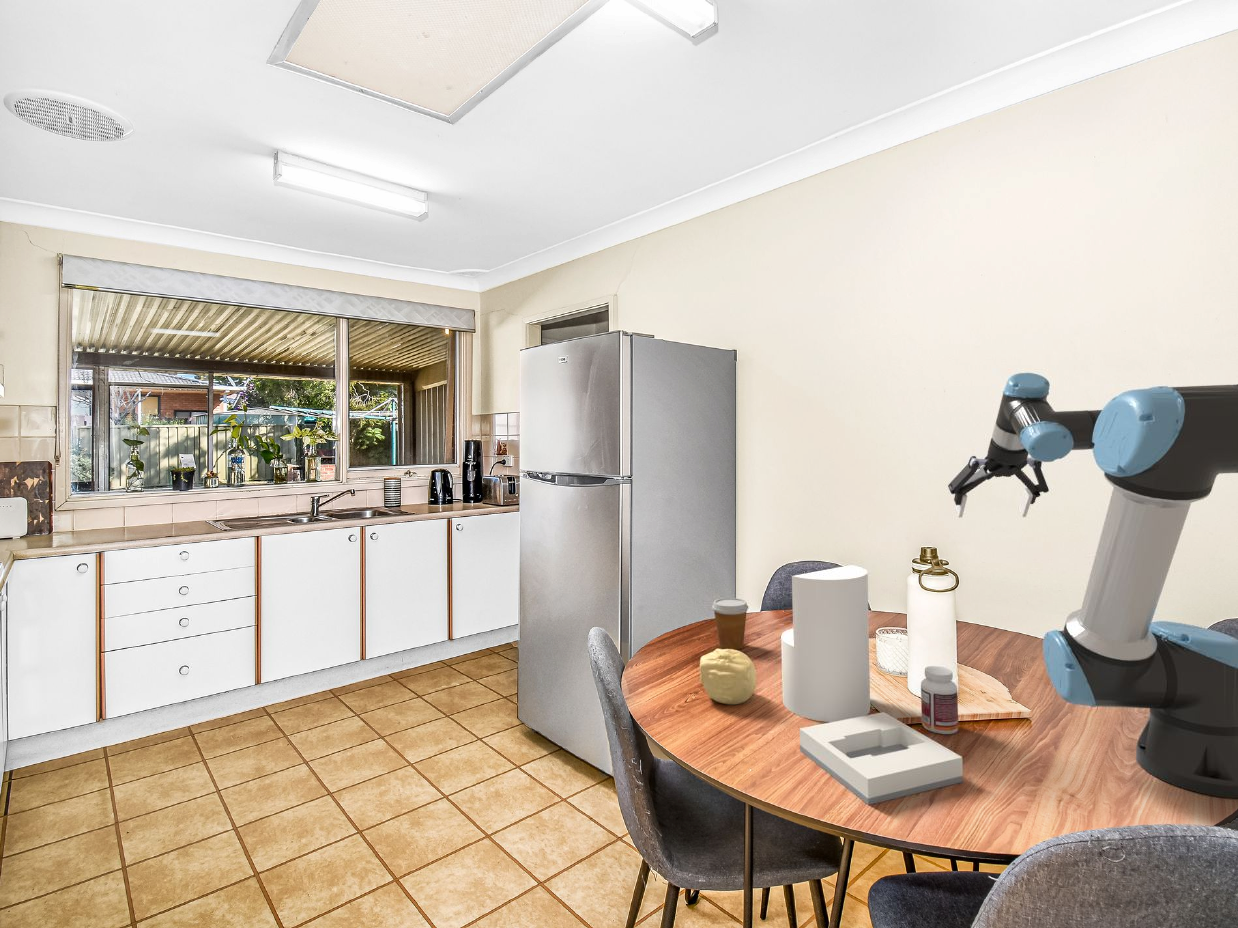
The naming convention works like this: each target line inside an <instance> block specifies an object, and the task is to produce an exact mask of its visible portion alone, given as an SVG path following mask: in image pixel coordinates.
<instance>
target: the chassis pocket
mask: <svg viewBox="0 0 1238 928" xmlns="http://www.w3.org/2000/svg"><path fill="white" fill-rule="evenodd" d="M799 751H800V752H801V753H802V754H804V755H805V756H807V758H809V759H810V760H811V761H813V762H814V763H815V764H816V765H818V766H819V767H820V768H821V769H823V770H824V771H825V772H826V773H828V775H830V776H831V777H832V778H833V779H835V780H836V781H837V782H839V783H840V784H841V785H843V786H844V787H845V788H846V789H848V791H850V792H852V794H854V795H855V796H856V797H858V798H859V800H861V801H862V802H864V803H865V804H866V805H868V806H871V805H874V804H875V805H876V804H879V803H882V802H887V801H891V800H894V799H898V798H901V797H902V798H903V797H906V796H911V795H914V794H920V793H924V792H926V791H930V790H936V789H938V788H942V787H948V786H953V785H957V784H959V783H963V778H964V777H963V774H964V773H963V757H962V755H959V754H958V753H955V752H954V751H952V750H951V749H948V748H947V747H946V746H944V745H942V744H940V743H938V742H937V741H935V740H933V739H931V738H929V737H928V736H926V735H925V734H923V733H921V732H919V731H917V730H916V729H914V728H912V727H910V726H908V725H907V724H905V723H903V722H902V721H900V720H898V719H897V718H894V717H893V716H891V715H890V714H888V713H886V712H884V711H882V712H877V713H873V714H867V715H866V716H861V717H856V718H851V719H846V720H841V721H835V722H825V723H822V724H821V723H820V724H817V725H810V726H805V727H800V728H799Z"/></svg>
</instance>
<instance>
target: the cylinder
mask: <svg viewBox="0 0 1238 928" xmlns="http://www.w3.org/2000/svg"><path fill="white" fill-rule="evenodd" d="M868 572H869V571H868V570H867V569H866V568H863V567H861V566H858V565H854V564H849V565H845V566H839V567H838V566H837V567H833V568H830V569H829V568H828V569H822V570H817V571H813V572H807V573H802V574H801V573H800V574H795V575H792V576H791V595H792V596H791V599H792V600H791V601H792V628H790V629H787V630H786V631H783V632H782V634H781V635H780V636H781V637H780V640H781V642H780V643H781V648H780V649H781V675H782V676H781V677H782V678H781V679H782V682H781V683H782V684H781V685H782V686H781V687H782V688H781V689H782V702H783V706H784V707H785V708H786V710H788V711H790V712H791V713H793V714H795V715H797V716H799V717H802V718H805V719H808V720H813V721H816V722H825V723H830V722H835V721H841V720H846V719H851V718H856V717H861V716H866V715H869V713H870V712H871V686H870V684H871V683H870V682H871V681H870V678H871V677H870V636H869V634H870V633H869V630H870V628H869V627H870V625H869V622H870V621H869V582H868V581H869V580H868V579H869V578H868V577H869V576H868V574H869V573H868Z"/></svg>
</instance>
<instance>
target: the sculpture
mask: <svg viewBox="0 0 1238 928" xmlns="http://www.w3.org/2000/svg"><path fill="white" fill-rule="evenodd" d="M756 670H757V669H756V667H755V665H754V663H753V661H752V660H751V659H750V657H749V656H748V655H746V654H745V653H744V652H742V651H740V650H733V649H722V648H716V649H715V650H713V651H710V652H709V653H707V654H706V653H705V654H704V655H702V656H700V662H699V674H700V678H699V679H700V680H699V681H700V683H701V684H702V686H703V688H704V690H705V691H706V693H707V694H708V696H709V697H710V698H711V699H712V700H714V701H715V702H717V703H720V704H725V705H740V704H743V703H745V702H746V701H748V700H749V699H750V698H751V697H752V696H753V694H754V693H755V690H756V687H757V681H758V680H757V678H758V677H757V671H756Z"/></svg>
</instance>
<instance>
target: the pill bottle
mask: <svg viewBox="0 0 1238 928" xmlns="http://www.w3.org/2000/svg"><path fill="white" fill-rule="evenodd" d="M924 677H925V678H923V680H922V681H921V683H920V697H921V698H920V700H921V701H920V702H921V705H920V707H921V711H920V712H921V724H922V726H923V728H925V729H926V730H927V731H929V732H932V733H935V734H939V735H940V734H941V735H953V734H955V733H956V732H958V730H959V707H958V706H959V705H958V703H959V702H958V701H959V699H958V686H957V683H955V682H954V681H953V678H954V677H953V671H952V670H951V669H950V668H948V667H944V666H939V665H930V666H926V667H925V668H924Z"/></svg>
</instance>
